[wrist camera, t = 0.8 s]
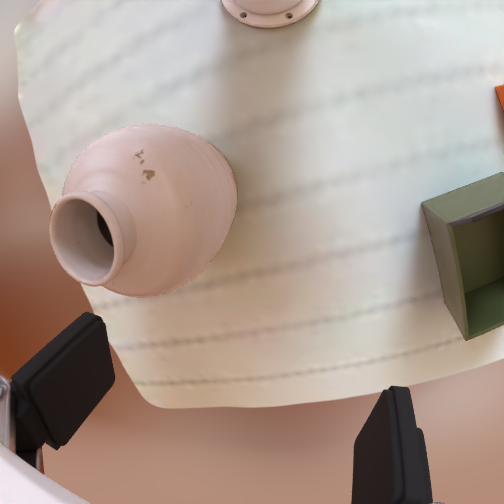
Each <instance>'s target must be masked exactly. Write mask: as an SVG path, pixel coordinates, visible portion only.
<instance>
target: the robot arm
mask: <svg viewBox="0 0 504 504" xmlns="http://www.w3.org/2000/svg"><path fill="white" fill-rule="evenodd" d="M221 1H222V3H223V5H224V7H225V8H226V9H227V11H228V12H229V13H230V14H231V15H232V16H233V17H235V18H236V19H238V20H239V21H241V22H243V23H245V24H248V25H251V26H255V27H263V28H274V27H281V26H286V25H289V24H292V23H294V22H297V21H298V20H300V19H302V18H304V17H305V16H306V15H307V14H309V13H310V12H311V11H312V10H313V8H314V7H315V6H316V4H317V2H318V0H221ZM244 16H247V17H245V18H243V17H244ZM288 17H292V18H291V19H288ZM11 379H12V382H11V383H9V381H8V380H7V379H6V378H5V377H3V376H0V504H91V503H89V502H87V501H85V500H83V499H82V498H80V497H78V496H77V495H75V494H73V493H72V492H70V491H68V490H67V489H65V488H63V487H62V486H60V485H59V484H57V483H56V482H54V481H52V480H51V479H49V478H48V477H47V476H45V475H44V466H43V455H42V446H43V444H44V443H45V442H46V444H48V445H49V446H51V447H52V448H54V449H55V450H58V449H59V448H60V446H64V445H66V444H67V443H68V441H69V440H70V439H71V437H72V436H73V435H74V433H75V432H76V431H77V430H78V428H79V427H80V426H81V425H82V423H83V422H84V421H85V419H86V418H87V417H88V416H89V414H90V413H91V412H92V411H93V409H94V408H95V407H96V406H97V404H98V403H99V402H100V400H101V399H102V398H103V397H104V396H105V394H106V393H107V392H108V390H109V389H110V388H111V387H112V386H113V384H114V381H115V373H114V368H113V364H112V358H111V354H110V348H109V342H108V337H107V331H106V325H105V323H104V322H103V320H102V318H101V317H100V316H97V315H95V314H92V313H89V312H85V313H83V314H82V315H81V316H80V317H79V318H77V319H76V320H75V321H74V322H73V323H71V324H70V325H69V326H68V327H67V328H66V329H64V330H63V331H62V332H61V333H60V334H59V335H57V336H56V337H55V338H54V339H53V340H52V341H50V342H49V343H48V344H47V345H46V346H45V347H44V348H43V349H42V350H40V351H39V352H38V353H37V354H36V355H35V356H34V357H32V358H31V359H30V360H29V361H28V362H27V363H26V364H25V365H24V366H22V367H21V368H20V369H19V370H18V371H17V372H16V373H15V374H14V375H13V376H12V377H11ZM353 461H354V462H353V485H352V502H351V504H444V503H440V502H434V503H433V499H432V490H431V482H430V473H429V466H428V459H427V452H426V446H425V441H424V435H423V432H422V430H421V429H420V428H417V426H416V421H415V415H414V410H413V404H412V399H411V394H410V390H409V388H408V387H399V386H390V387H389V389H388V390H383V392H382V393H381V395H380V397H379V399H378V401H377V403H376V405H375V407H374V408H373V410H372V412H371V414H370V416H369V417H368V419H367V421H366V423H365V424H364V426H363V428H362V430H361V431H360V433H359V435H358V436H357V438H356V440H355V443H354V460H353Z"/></svg>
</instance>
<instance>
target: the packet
mask: <svg viewBox="0 0 504 504" xmlns="http://www.w3.org/2000/svg"><path fill="white" fill-rule="evenodd" d="M495 89H496V92H497V95H498V97H499V100H500V103H501V106H502V109H503V112H504V85H500V86H496V87H495Z"/></svg>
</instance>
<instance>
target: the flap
mask: <svg viewBox="0 0 504 504" xmlns="http://www.w3.org/2000/svg"><path fill="white" fill-rule="evenodd" d="M502 210H504V201H502V202H499V203H497V204H495V205H492V206H490V207H487V208H485V209H482V210H480V211H477V212H475V213H472V214H470V215H467V216H465V217H462V218H460V219H457V220H455V221H452V222H449V225H450V227H451V226H456V225H462V224H467V223H472V222H475V221H478V220H480V219H482V218H485V217H487V216H490V215H492V214H495V213H497V212H499V211H502Z"/></svg>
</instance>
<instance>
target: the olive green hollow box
mask: <svg viewBox="0 0 504 504" xmlns="http://www.w3.org/2000/svg"><path fill="white" fill-rule="evenodd" d="M502 201H504V173H503V172H500V173H498V174H495V175H493V176H490V177H487V178H485V179H482V180H480V181H477V182H474V183H472V184H469V185H466V186H464V187H461V188H459V189H456V190H453V191H451V192H448V193H445V194H443V195H440V196H437V197H435V198H432V199H429V200H427V201H424V202H421V204H422V207H423V211H424V214H425V218H426V221H427V225H428V229H429V233H430V237H431V241H432V245H433V249H434V253H435V257H436V262H437V266H438V271H439V276H440V281H441V286H442V291H443V297H444V303H445V304H446V306H447V308H448V310H449V311H450V313H451V315H452V317H453V318H454V320H455V322H456V324H457V326H458V328H459V330H460V331H461V333H462V335H463V337H464V339H465V341H467V340H470V339H472V338H475V337H477V336H479V335H482V334H484V333H486V332H489V331H491V330H493V329H495V328H497V327H500V326H502V325H504V210H502V211H499V212H497V213H495V214H492V215H490V216H487V217H485V218H482V219H480V220H478V221H475V222H472V223H467V224H462V225H456V226H451V227H450V225H449V222H452V221H455V220H457V219H460V218H462V217H465V216H467V215H470V214H472V213H475V212H477V211H480V210H482V209H485V208H487V207H490V206H492V205H495V204H497V203H499V202H502Z"/></svg>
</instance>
